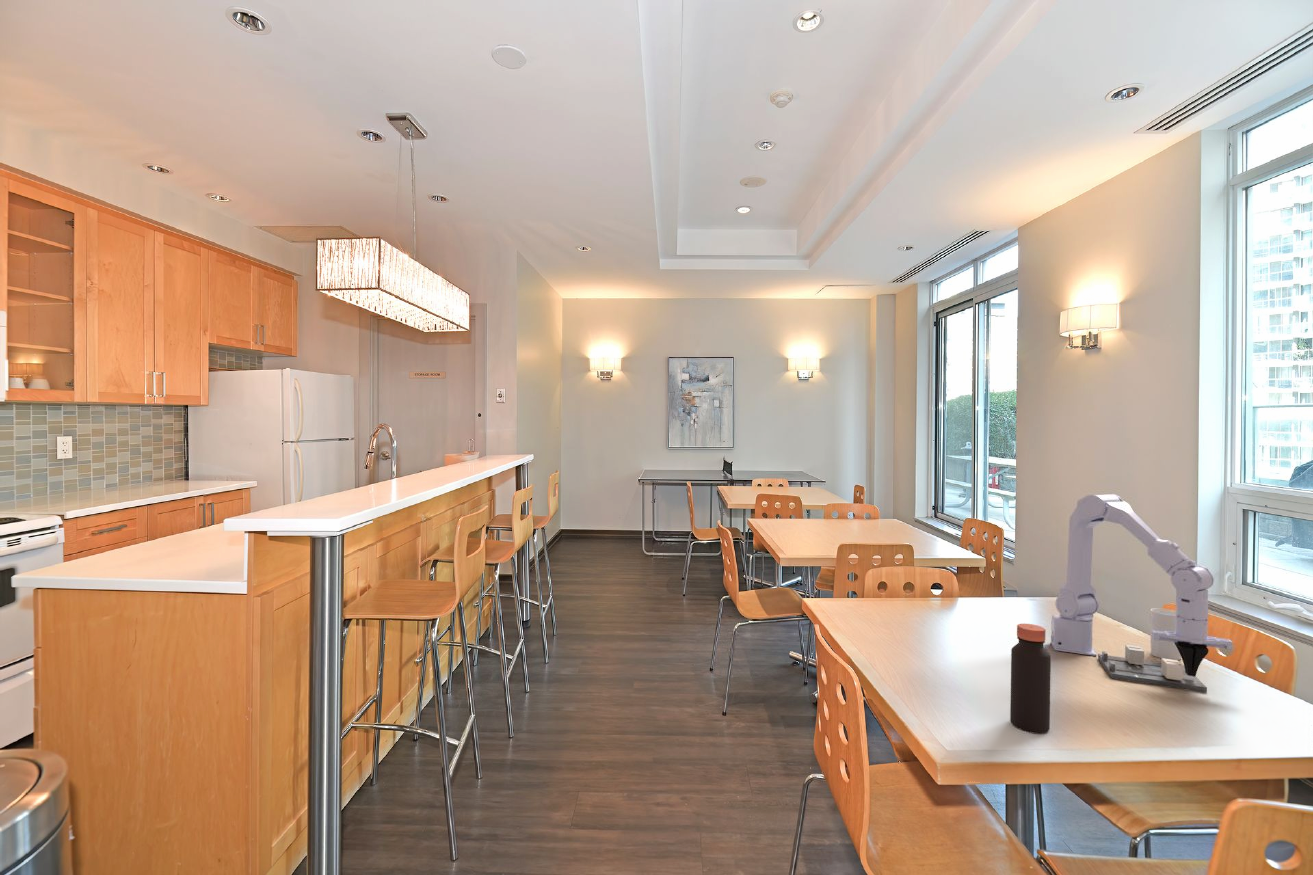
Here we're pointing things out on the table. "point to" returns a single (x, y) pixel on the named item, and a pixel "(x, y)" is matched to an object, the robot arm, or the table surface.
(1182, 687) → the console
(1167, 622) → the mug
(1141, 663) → the fader far
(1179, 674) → the fader near
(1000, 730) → the table surface
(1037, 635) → the bottle
